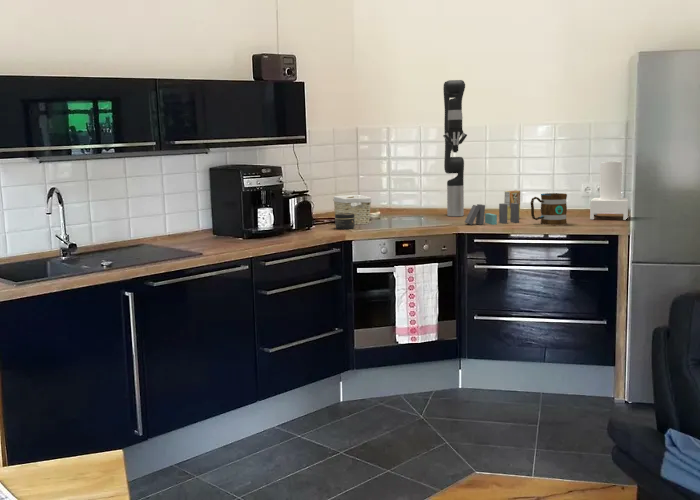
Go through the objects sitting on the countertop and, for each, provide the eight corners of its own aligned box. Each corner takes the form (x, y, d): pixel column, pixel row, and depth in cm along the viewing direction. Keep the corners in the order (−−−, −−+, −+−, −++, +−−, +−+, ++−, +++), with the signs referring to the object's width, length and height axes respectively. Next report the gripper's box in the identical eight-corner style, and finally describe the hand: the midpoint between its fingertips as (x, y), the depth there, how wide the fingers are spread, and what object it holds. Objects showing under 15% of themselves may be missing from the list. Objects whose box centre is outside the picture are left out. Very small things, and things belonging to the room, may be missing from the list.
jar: (348, 230, 402) (347, 215, 401) (331, 229, 407) (331, 214, 406) (358, 228, 410) (358, 213, 409) (342, 227, 416) (341, 212, 415)
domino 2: (479, 224, 412) (480, 205, 411) (475, 223, 417) (477, 204, 416) (483, 224, 413) (485, 205, 411) (480, 223, 417) (481, 204, 416)
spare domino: (492, 215, 410) (485, 213, 420) (492, 224, 411) (485, 222, 421) (496, 215, 411) (489, 213, 421) (496, 224, 412) (489, 222, 421)
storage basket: (333, 221, 445) (332, 195, 443) (361, 220, 449) (360, 194, 447) (343, 226, 422) (342, 198, 420) (372, 224, 426) (372, 196, 424)
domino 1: (467, 223, 411) (476, 205, 410) (464, 222, 415) (473, 204, 415) (471, 225, 411) (480, 207, 411) (468, 224, 416) (476, 206, 416)
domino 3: (502, 223, 415) (503, 204, 413) (499, 222, 420) (499, 203, 418) (507, 223, 415) (507, 204, 414) (503, 222, 420) (503, 203, 419)
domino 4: (514, 223, 416) (514, 203, 415) (510, 222, 421) (510, 203, 420) (518, 222, 417) (519, 203, 415) (515, 221, 421) (515, 202, 420)
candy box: (514, 218, 441) (514, 190, 439) (520, 218, 438) (520, 190, 435) (503, 219, 435) (503, 191, 433) (510, 219, 432) (510, 191, 430)
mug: (558, 221, 419) (558, 192, 417) (572, 223, 406) (572, 194, 404) (524, 223, 414) (524, 194, 412) (537, 225, 401) (537, 196, 399)
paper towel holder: (590, 219, 426) (591, 162, 421) (593, 215, 443) (594, 161, 439) (627, 219, 419) (628, 162, 414) (629, 216, 436) (630, 161, 432)
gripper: (464, 119, 423) (464, 152, 425) (440, 119, 420) (440, 152, 423) (469, 118, 416) (469, 152, 418) (445, 119, 413) (445, 152, 415)
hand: (455, 152), depth 420 cm, fingers closed
